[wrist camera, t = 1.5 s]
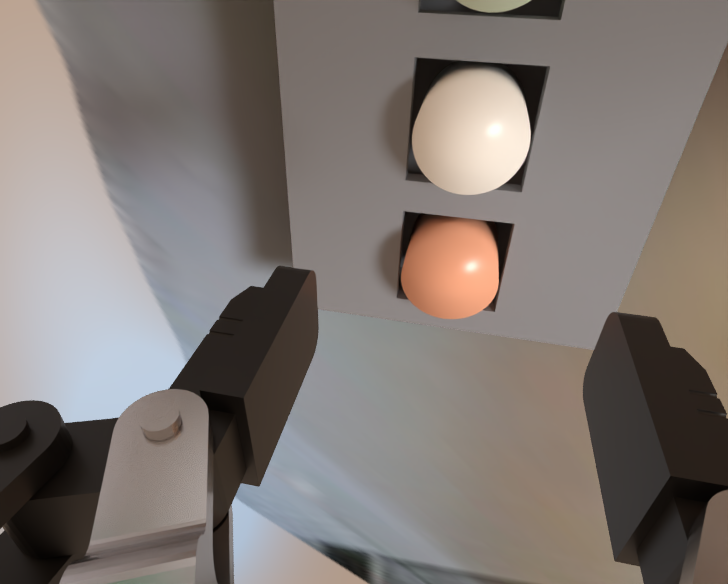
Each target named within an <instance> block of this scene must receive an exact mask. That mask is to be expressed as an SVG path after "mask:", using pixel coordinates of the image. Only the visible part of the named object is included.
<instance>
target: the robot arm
mask: <svg viewBox="0 0 728 584" xmlns="http://www.w3.org/2000/svg"><path fill="white" fill-rule="evenodd" d="M317 339H318V305H317V281H316V274H315V272H314V271H313V270H306V269H299V268H291V267H284V266H278V267H277V268H276V269H275V271H274V272H273V274H272V275H271V277H270V279H269V280H268V282H267V283H266V285H265V286H264V288H261V287H254V286H250V287H249V288H247V289H246V290H244V291H243V292H242V293H240V294H239V295H237V296H236V297H234V298H233V299H231V301H230V302H229V303H228V305H227V306H226V308H225V309H224V311H223V312H222V313H221V315H220V316H219V320H217V321H216V322H215V324H214V325H213V326H212V328H211V329H210V333H209V334H207V335H206V336H205V338H204V339H203V341H202V342H201V344H200V345H199V346H198V348H197V349H196V351H195V352H194V354H193V355H192V357H191V358H190V359H189V361H188V362H187V364H186V365H185V367H184V368H183V369H182V371H181V372H180V374H179V375H178V377H177V378H176V380H175V381H174V382H173V384H172V385H171V387H170V388H169V389H168V390H162V391H157V392H154V393H151V394H149V395H146V396H144V397H142V398H140V399H139V400H137V401H135V402H134V403H133V404H132V405H130V406H129V407H128V408H127V409H126V410H125V411H124V412H123V413H122V414H121V416H120V417H119V418H113V419H103V420H93V421H83V422H72V423H64V421H63V419H62V417H61V415H60V414H59V412H58V410H57V409H56V408H55V407H54V406H53V405H51V404H49V403H46V402H42V401H34V400H33V401H21V402H16V403H12V404H9V405H6V406H3V407H0V529H1V528H2V527H3V528H4V530H5V531H4V532H3V533H2V534H1V535H0V584H234V564H233V563H234V562H233V514H232V506H231V504H232V501H233V499H234V497H235V495H236V493H237V490H238V488H239V486H240V484H241V483H244V484H249V485H254V486H260V484H261V481H262V479H263V477H264V474H265V472H266V469H267V467H268V465H269V462H270V460H271V457H272V455H273V452H274V450H275V448H276V445H277V443H278V440H279V438H280V436H281V433H282V431H283V428H284V426H285V423H286V421H287V419H288V416H289V414H290V411H291V409H292V407H293V404H294V402H295V399H296V397H297V395H298V392H299V390H300V387H301V385H302V382H303V380H304V378H305V375H306V373H307V370H308V368H309V366H310V363H311V361H312V358H313V356H314V353H315V349H316V345H317ZM583 400H584V406H585V411H586V416H587V421H588V426H589V432H590V437H591V442H592V447H593V452H594V457H595V463H596V468H597V473H598V478H599V483H600V488H601V493H602V499H603V504H604V509H605V514H606V519H607V524H608V530H609V535H610V540H611V545H612V550H613V555H614V560H615V561H616V562H621V563H626V564H631V565H636V566H640V568H641V573H642V577H643V581H644V584H728V419H727V418H726V414H727V413H726V411H725V409H724V407H723V405H722V403H721V401H720V399H718V398H717V393H716V390H715V388H714V386H713V384H712V382H711V380H710V378H709V376H708V374H707V372H706V370H705V369H704V368H703V367H702V366H701V365H700V364H699V363H698V362H697V361H696V360H695V359H694V358H693V357H692V356H691V355H690V354H689V353H688V352H687V351H686V350H685V349H683V348H676V347H670V345H669V342H668V340H667V338H666V335H665V333H664V331H663V328H662V326H661V324H660V322H659V320H658V319H657V318H655V317H648V316H641V315H633V314H626V313H619V312H612V313H610V314H609V316H608V317H607V319H606V321H605V324H604V326H603V329H602V331H601V334H600V336H599V339H598V341H597V344H596V346H595V349H594V351H593V354H592V356H591V359H590V361H589V364H588V366H587V369H586V372H585V376H584V383H583Z"/></svg>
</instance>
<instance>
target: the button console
mask: <svg viewBox="0 0 728 584" xmlns="http://www.w3.org/2000/svg"><path fill="white" fill-rule="evenodd" d="M273 2H274V15H275V29H276V42H277V56H278V69H279V83H280V96H281V109H282V123H283V136H284V150H285V163H286V177H287V190H288V203H289V217H290V230H291V244H292V257H293V268H299V269H306V270H313V271H314V272H315V274H316V281H317V305H318V309H321V310H327V311H334V312H341V313H348V314H354V315H361V316H368V317H375V318H381V319H388V320H395V321H402V322H408V323H415V324H422V325H429V326H436V327H442V328H449V329H456V330H463V331H469V332H476V333H483V334H490V335H496V336H503V337H510V338H517V339H523V340H530V341H537V342H544V343H550V344H557V345H564V346H571V347H577V348H584V349H591V350H594V349H595V346H596V344H597V341H598V339H599V336H600V334H601V331H602V329H603V326H604V324H605V321H606V319H607V317H608V316H609V314H610V313H612V312H617V311H618V308H619V306H620V303H621V301H622V298H623V296H624V294H625V291H626V289H627V286H628V284H629V281H630V279H631V277H632V274H633V272H634V269H635V267H636V264H637V262H638V259H639V257H640V255H641V252H642V250H643V247H644V245H645V242H646V240H647V238H648V235H649V233H650V230H651V228H652V225H653V223H654V221H655V218H656V216H657V213H658V211H659V208H660V206H661V204H662V201H663V199H664V196H665V194H666V191H667V189H668V187H669V184H670V182H671V179H672V177H673V174H674V172H675V169H676V167H677V165H678V162H679V160H680V157H681V155H682V152H683V150H684V148H685V145H686V143H687V140H688V138H689V135H690V133H691V131H692V128H693V126H694V123H695V121H696V118H697V116H698V114H699V111H700V109H701V106H702V104H703V101H704V99H705V97H706V94H707V92H708V89H709V87H710V84H711V82H712V80H713V77H714V75H715V72H716V70H717V67H718V65H719V62H720V60H721V58H722V55H723V53H724V50H725V48H726V45H727V43H728V0H531V1H529V2H528V3H526V4H524V5H522V6H520V7H518V8H515V9H512V10H508V11H503V12H492V13H488V12H481V11H477V10H473V9H471V8H468V7H466V6H464V5H462V4H461V3H459V2H458V1H456V0H273ZM458 60H461V61H476V62H491V63H503V64H504V65H506V66H507V67H508V68H509V69H510V70H512V71H513V73H514V74H515V75H516V76H517V78H518V80H519V81H520V83H521V86H522V88H523V92H524V96H525V101H526V106H527V112H528V117H529V122H530V130H531V140H530V146H529V150H528V153H527V156H526V158H525V160H524V162H523V164H522V166H521V167H520V169H519V170H518V171H517V172H516V174H515V175H514V176H513V177H512V178H511V179H510V180H508V181H507V182H506V183H504V184H503V185H501V186H500V187H498V188H496V189H494V190H491V191H489V192H485V193H481V194H476V195H461V194H455V193H452V192H448V191H446V190H443V189H441V188H440V187H438V186H436V185H435V184H433V183H432V182H431V181H430V180H429V179H428V178H427V177H426V176H425V175H424V174H423V172H422V171H421V170H420V168H419V166H418V164H417V162H416V160H415V157H414V153H413V147H412V134H413V128H414V124H415V121H416V118H417V116H418V113H419V111H420V108H421V106H422V103H423V101H424V98H425V96H426V93H427V91H428V88H429V86H430V85H431V83H432V81H433V80H434V79H435V77H436V76H437V75H438V74H439V73H440V72H441V71H442V70H443V69H444V68H446V67H447V66H449V65H450V64H452V63H454V62H456V61H458ZM421 213H425V214H433V215H442V216H451V217H460V218H468V219H477V220H486V221H494V222H495V224H496V227H497V232H498V270H499V284H498V289H497V293H496V295H495V297H494V299H493V300H492V301H491V303H490V304H489V305H488V306H487V307H486V308H484V309H483V310H482V311H480V312H479V313H477V314H475V315H472V316H469V317H466V318H461V319H443V318H438V317H434V316H431V315H429V314H426V313H425V312H423V311H421V310H420V309H418V308H417V307H416V306H414V305H413V304H412V303H411V301H410V300H409V299H408V298H407V296H406V294H405V292H404V290H403V287H402V283H401V272H402V268H403V264H404V260H405V256H406V252H407V249H408V245H409V241H410V237H411V234H412V230H413V226H414V223H415V221H416V219H417V218H418V216H419V215H420V214H421Z"/></svg>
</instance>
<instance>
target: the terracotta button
mask: <svg viewBox="0 0 728 584" xmlns="http://www.w3.org/2000/svg"><path fill="white" fill-rule="evenodd" d="M401 283H402V287H403V290H404V292H405V294H406V296H407V298H408V299H409V300H410V301H411V303H412V304H413V305H414V306H416V307H417V308H418V309H420V310H421V311H423V312H425V313H426V314H429V315H431V316H434V317H438V318H443V319H461V318H466V317H469V316H472V315H475V314H477V313H479V312H480V311H482V310H483V309H484V308H486V307H487V306H488V305H489V304H490V303H491V301H492V300H493V299H494V297H495V295H496V293H497V289H498V284H499V270H498V232H497V227H496V224H495V222H494V221H486V220H477V219H468V218H460V217H451V216H442V215H433V214H425V213H421V214H420V215H419V216H418V218H417V219H416V221H415V223H414V226H413V230H412V234H411V237H410V241H409V245H408V249H407V252H406V256H405V260H404V264H403V268H402V272H401Z"/></svg>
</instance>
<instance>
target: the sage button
mask: <svg viewBox="0 0 728 584" xmlns="http://www.w3.org/2000/svg"><path fill="white" fill-rule="evenodd" d="M456 1H458V2H459V3H461V4H462V5H464V6H466V7H468V8H471V9H473V10H477V11H481V12H488V13H492V12H503V11H508V10H512V9H515V8H518V7H520V6H522V5H524V4H526V3H528V2H529V1H531V0H456Z"/></svg>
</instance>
